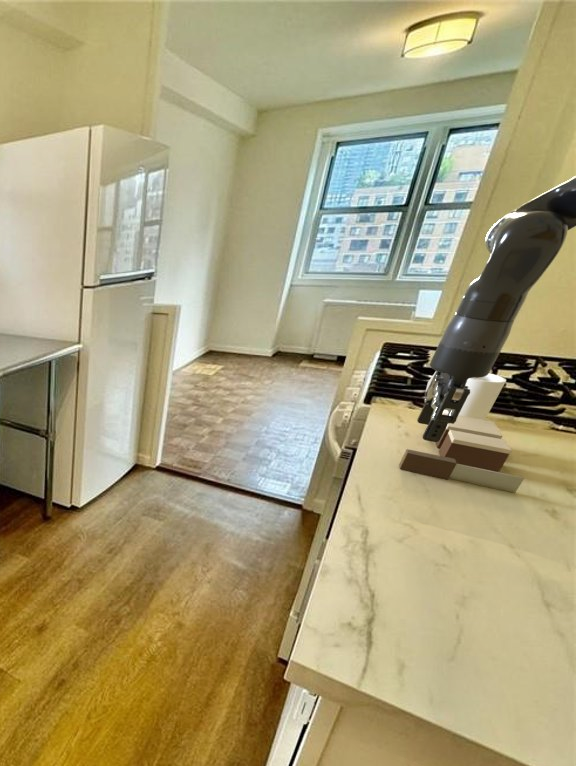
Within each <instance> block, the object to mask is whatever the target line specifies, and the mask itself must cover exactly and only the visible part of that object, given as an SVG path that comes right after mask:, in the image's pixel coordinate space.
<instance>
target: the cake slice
mask: <svg viewBox="0 0 576 766" xmlns="http://www.w3.org/2000/svg"><path fill="white" fill-rule="evenodd" d="M512 451H513V450H512V448H511V447H510V444H509V443H508V442H507V440H506V439H503V438H501V439H498V438H492V437H487V436H482V435H476V434H471V433H465V432H460V431H454V430H449V432H448V434H447V436H446V438H445V440H444V442H443V444H442V446H441V448H439V449H438V456H443V457H448V458H453V459H455V460H456V463H457V464H461V465H466V466H471V467H476V468H480V469H485V470H490V471H495V472H499V473H500V471H501V469H502V467H503V466H504V464H505V462H506V461H507V459H508V458H509V456H510V454H511V453H512Z"/></svg>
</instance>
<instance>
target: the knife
mask: <svg viewBox="0 0 576 766" xmlns="http://www.w3.org/2000/svg"><path fill="white" fill-rule="evenodd" d="M398 466H399V470H402V471H406V472H412V473H416V474H420V475H424V476H428V477H432V478H433V477H434V478H438V479H443V480H449V479H451V480H453V481H454V480H455V481H459V482H464V483H468V484H473V485H477V486H481V487H487V488H490V489H495V490H500V491H504V492H509V493H512V494H515V493H516V492H517V491H518V490H519V488H520V486H521V484H522V483H523V482H524V481H525V477H524V476H519V475H513V474H509V473H505V472H500V471H499V472H495V471H490V470H485V469H480V468H476V467H471V466H466V465H461V464H457V463H456V460H455V459H453V458H448V457H443V456H440V455H439V454H433V453H428V452H425V451H424V452H423V451H418V450H413V449H409V448H406V449H405V451H404V453H403V455H402V457H401V459H400V462H399V464H398Z"/></svg>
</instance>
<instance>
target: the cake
mask: <svg viewBox="0 0 576 766" xmlns="http://www.w3.org/2000/svg"><path fill="white" fill-rule="evenodd" d="M442 414H443V415H448V414H447V413H442ZM449 430H454V431H460V432H465V433H471V434H476V435H482V436H487V437H492V438H498V439H503V434H502V432H501V431H500V428H499V427H498V426H497V425H496V423H495V421H494V420H488V419H485V420H483V419H477V418H471V417H465V416H459V415H458V417H457V419H456V422H455V423H454V424H451V423H450V424H449V423H448V425H447V427H446V429H445V431H444V433H443V434H442V436H441V438H440V440H439V441H438V442H434V444H435V446H436V448H437V449H440V448H441V446H442V444H443V442H444V440H445V438H446V436H447V434H448V432H449Z"/></svg>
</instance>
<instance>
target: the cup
mask: <svg viewBox="0 0 576 766" xmlns="http://www.w3.org/2000/svg"><path fill="white" fill-rule="evenodd" d="M435 373H436V371H435V372H434V373H433V374H432V376H431V378H430V379H429V380H428V382H427V385H426V388H425V392H426V391H427V389H428V387H429V385H430V383H431V381H432V379H433V377H434V375H435ZM506 382H507V379H506V378H504V377H502V376H500V375H497V374H494V373H490V372H489V374H488V375H487V376H485V377H480V378H475V377H473V378H469V379H468V380H467V383H466V385H465V386H468V389H470V394H469V395H468V397H467V399H466V401H465V403H464V405H463V407H462V409H461V411H460V413H459V416H465V417H471V418H477V419H483V420H487V417H488V416H489V414H490V412H491V410H492V408H493V406H494V404H495V403H496V400H497V398H498V397H499V395H500V393H501V392H502V390H503V387H504V385H505V384H506ZM443 413H447V414H448V411H447V410H444V411H443Z"/></svg>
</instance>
